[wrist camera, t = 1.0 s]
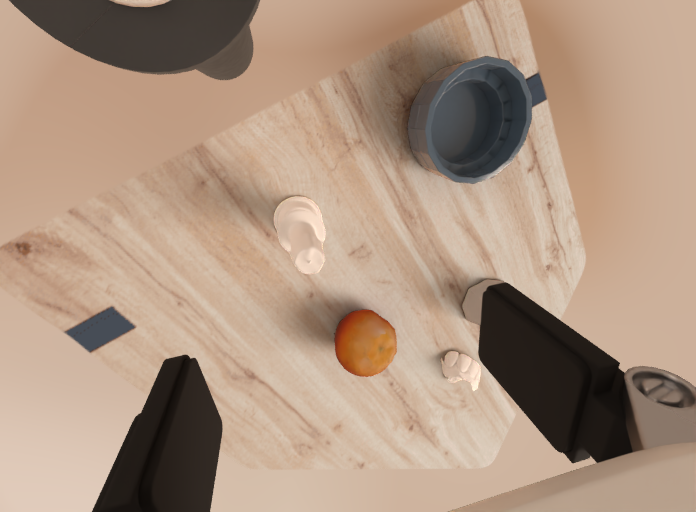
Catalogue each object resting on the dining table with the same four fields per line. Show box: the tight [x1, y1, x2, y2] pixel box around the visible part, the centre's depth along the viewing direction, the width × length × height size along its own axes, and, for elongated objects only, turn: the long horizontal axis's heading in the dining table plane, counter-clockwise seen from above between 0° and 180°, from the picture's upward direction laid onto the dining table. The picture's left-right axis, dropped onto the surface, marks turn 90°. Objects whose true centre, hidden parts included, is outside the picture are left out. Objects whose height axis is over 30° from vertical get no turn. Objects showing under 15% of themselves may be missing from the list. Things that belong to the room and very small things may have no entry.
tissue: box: [441, 351, 481, 391], centre depth 50 cm, size 6×8×4 cm
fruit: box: [334, 309, 397, 377], centre depth 41 cm, size 8×8×8 cm
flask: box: [462, 279, 504, 325], centre depth 42 cm, size 7×7×10 cm
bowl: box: [407, 56, 532, 184], centre depth 33 cm, size 11×11×5 cm
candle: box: [274, 196, 326, 274], centre depth 31 cm, size 5×5×12 cm
